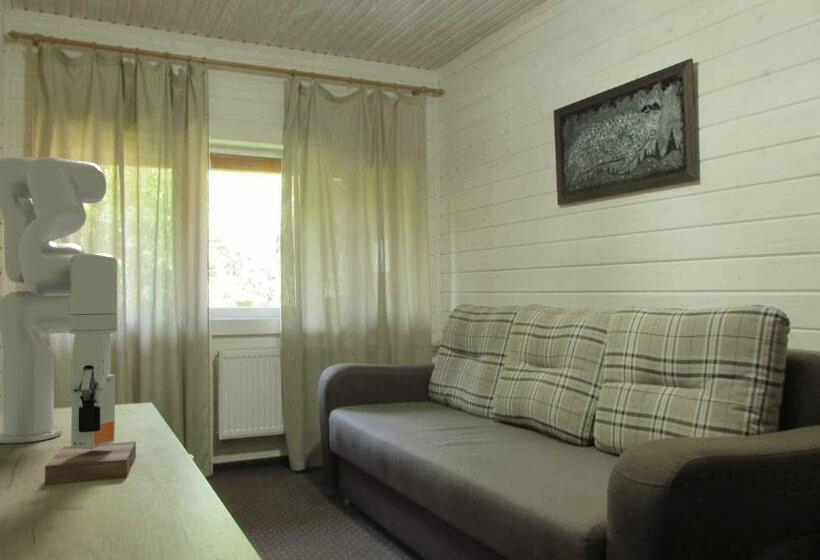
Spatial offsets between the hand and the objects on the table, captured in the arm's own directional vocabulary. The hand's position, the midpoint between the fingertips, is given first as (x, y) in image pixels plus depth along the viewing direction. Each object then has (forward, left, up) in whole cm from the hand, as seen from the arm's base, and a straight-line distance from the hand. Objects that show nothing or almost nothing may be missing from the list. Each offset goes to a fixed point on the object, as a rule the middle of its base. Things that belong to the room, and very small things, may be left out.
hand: (93, 426), depth 110 cm
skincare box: (0, 0, -3) cm, 3 cm away
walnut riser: (0, 0, -8) cm, 8 cm away
